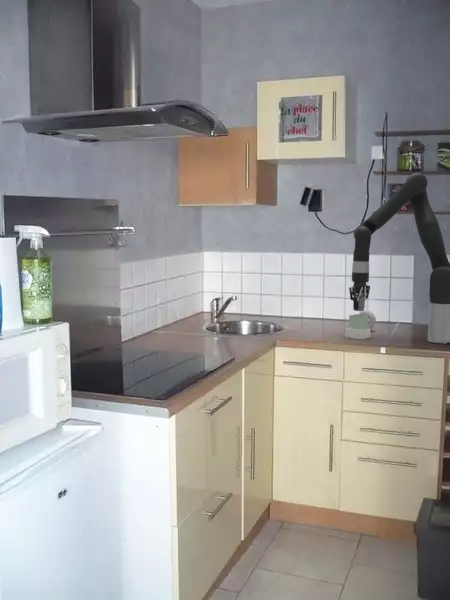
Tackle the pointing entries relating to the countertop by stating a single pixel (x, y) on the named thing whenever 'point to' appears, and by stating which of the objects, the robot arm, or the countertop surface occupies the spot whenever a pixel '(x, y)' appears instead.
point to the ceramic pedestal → (357, 333)
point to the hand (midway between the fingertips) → (358, 308)
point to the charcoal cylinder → (360, 304)
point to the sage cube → (358, 321)
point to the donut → (371, 318)
